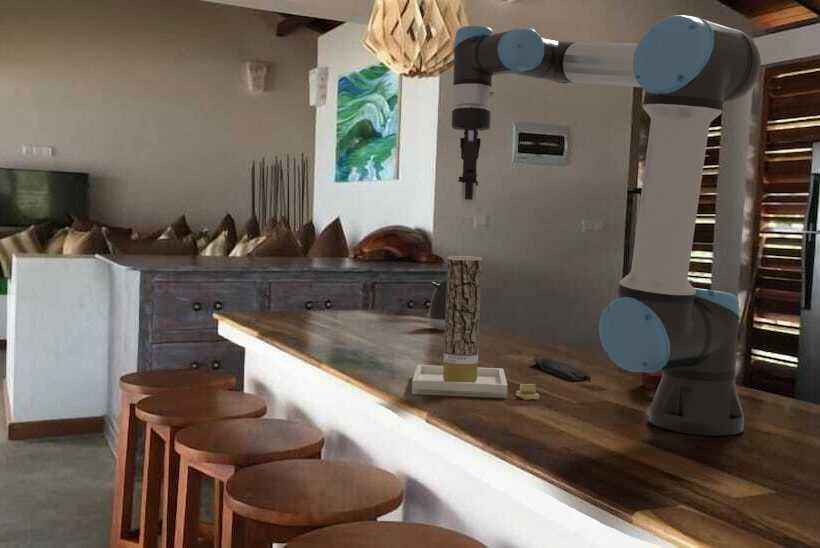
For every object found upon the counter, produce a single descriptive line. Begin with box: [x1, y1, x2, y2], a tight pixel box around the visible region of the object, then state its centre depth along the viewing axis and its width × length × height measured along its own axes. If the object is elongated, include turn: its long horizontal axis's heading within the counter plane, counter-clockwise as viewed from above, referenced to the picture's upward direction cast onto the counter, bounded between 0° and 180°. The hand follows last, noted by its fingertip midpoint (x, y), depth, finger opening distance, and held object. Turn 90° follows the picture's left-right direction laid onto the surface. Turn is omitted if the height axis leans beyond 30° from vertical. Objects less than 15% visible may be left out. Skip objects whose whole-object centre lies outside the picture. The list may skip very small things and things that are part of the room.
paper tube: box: [443, 255, 483, 383], centre depth 170 cm, size 7×7×25 cm
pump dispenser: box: [428, 278, 447, 332], centre depth 258 cm, size 10×10×15 cm
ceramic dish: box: [411, 364, 508, 399], centre depth 171 cm, size 18×18×2 cm
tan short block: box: [515, 383, 540, 401], centre depth 163 cm, size 4×3×3 cm
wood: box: [532, 357, 592, 383], centre depth 192 cm, size 22×7×3 cm, turn 18°
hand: (467, 217), depth 169 cm, fingers open, 13 cm apart
